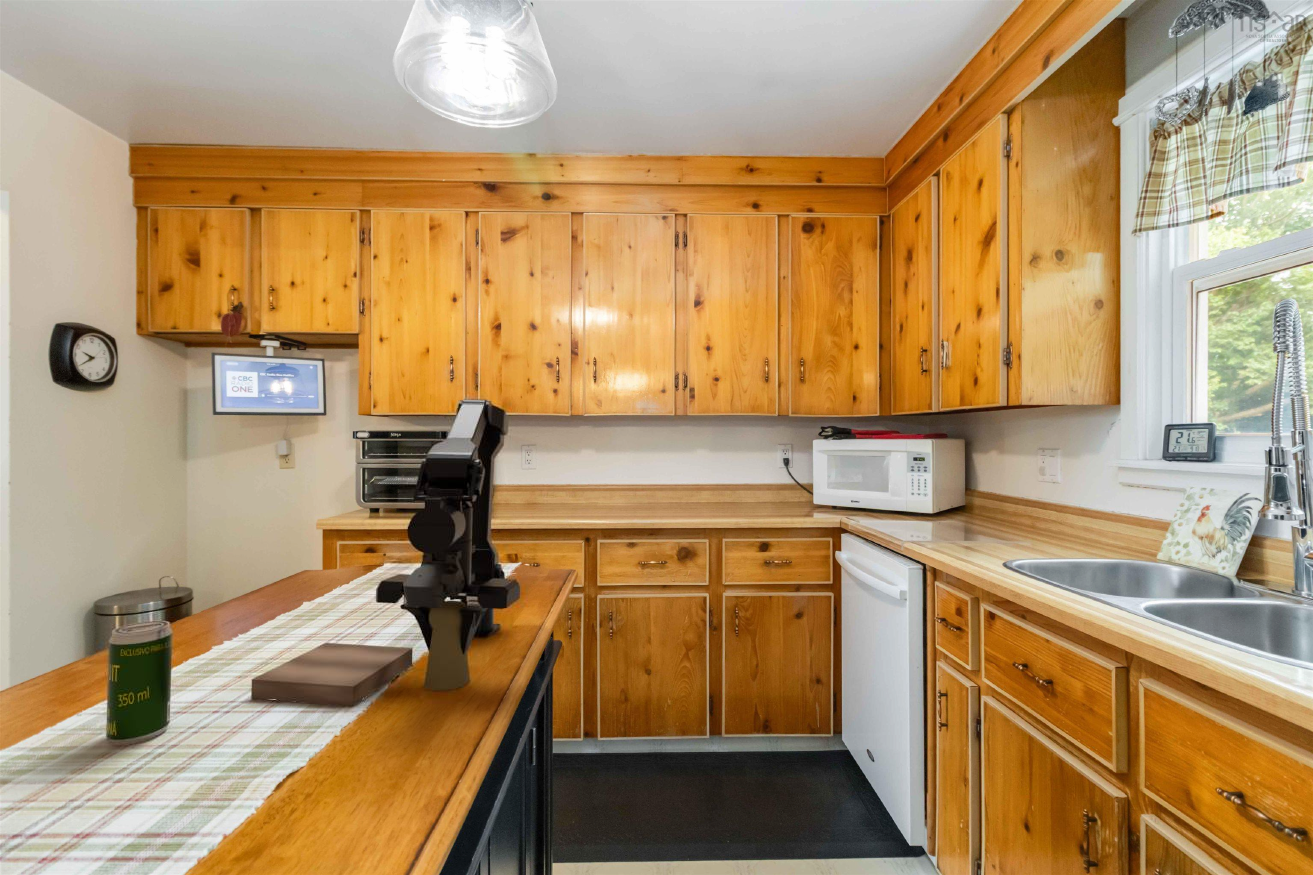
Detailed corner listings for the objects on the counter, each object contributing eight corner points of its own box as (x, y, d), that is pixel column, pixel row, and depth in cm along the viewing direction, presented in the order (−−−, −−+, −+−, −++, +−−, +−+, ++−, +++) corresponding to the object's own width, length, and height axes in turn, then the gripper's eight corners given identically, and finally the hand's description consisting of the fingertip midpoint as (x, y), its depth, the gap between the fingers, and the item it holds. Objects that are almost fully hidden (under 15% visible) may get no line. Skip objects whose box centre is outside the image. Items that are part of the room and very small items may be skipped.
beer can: (164, 718, 69) (167, 617, 69) (174, 733, 66) (177, 626, 66) (102, 735, 65) (105, 627, 65) (109, 752, 62) (113, 638, 62)
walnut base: (325, 659, 89) (325, 642, 89) (412, 664, 87) (412, 647, 87) (251, 698, 75) (251, 679, 75) (352, 706, 73) (353, 686, 73)
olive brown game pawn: (455, 692, 78) (457, 609, 78) (414, 688, 79) (416, 606, 79) (478, 675, 83) (479, 598, 84) (439, 671, 85) (441, 595, 85)
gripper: (351, 548, 74) (348, 670, 74) (491, 553, 72) (489, 679, 72) (399, 534, 85) (397, 641, 85) (522, 539, 83) (520, 648, 83)
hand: (448, 652), depth 81 cm, fingers closed on olive brown game pawn, 4 cm apart
